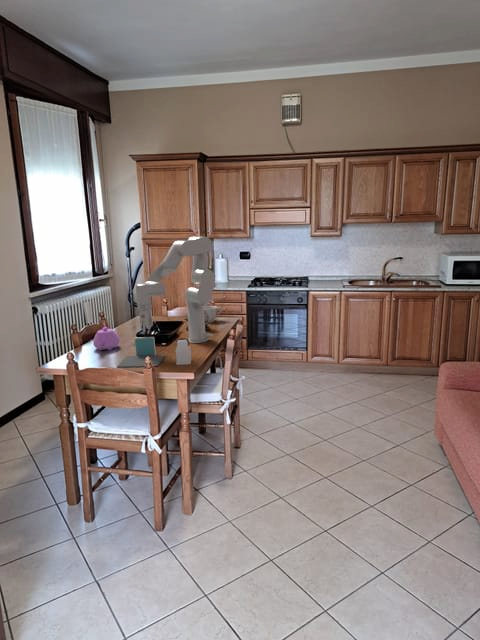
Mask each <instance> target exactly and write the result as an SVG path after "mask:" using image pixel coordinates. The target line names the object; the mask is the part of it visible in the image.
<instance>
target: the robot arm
mask: <svg viewBox="0 0 480 640" xmlns="http://www.w3.org/2000/svg"><path fill="white" fill-rule="evenodd" d="M211 248H212V240H211V239H210V238H209V237H207V236H201V235H200V236H197V235H193V236H190V237H188V239H187V240H176V241H174V242H173V244H172V245H171V246H170V248H169V249H168V251H167V254H166V255H165V257H164V258H163V260H162V261H161V262H160V264H159V265H157V266H156V268H154V269H153V270H152V271H151V273H150V274H149V275H148V277H147V279H146V281H145V282H144V283H137V284H136V285H135V296H136V306H137V311H138V312H139V315H138V316H139V326H140V329H141V330H142V332H143V337H151V328H152V327H153V326H154V320H153V311H152V310H153V305H152V297H162V296H164V295H165V294H166V292H167V286H166V285H165V283H163V282H162V280H163V279H164V278H165V277H166V276H169V275H171V274H173V273H174V272H175V271H177V269H178V268H179V265H180V264H181V262H182V261H183V258H184V257H185V258H186V257H187V258H188V257H192V259H193V261H192V266H191V267H192V268H191V273H190V281H191V283H192V284H194V285H198V286H191V287H188V288H187V289H185V290H186V291H185V292H184V299H185V304H186V310H187V312H188V322H187V324H188V325H187V327H188V328H189V331H188V337H187V338H186V339H188V340H189V343H190V344H200V343H205V342H208V341H209V338H214V334H212V333H207V332H206V331H205V321H204V308H203V306H208V305H209V304H210V303H211V301H212V297H213V292H214V287H215V282H216V275H215V273H214V272H213V271H212V270H211V269H208V267H209V256H208V253H207V252H208V251H210V250H211Z"/></svg>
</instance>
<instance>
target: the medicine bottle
mask: <svg viewBox="0 0 480 640" xmlns="http://www.w3.org/2000/svg"><path fill="white" fill-rule="evenodd" d="M175 364H176V365H175V366H182V365H184V366H185V365H191V364H192V353H191V346H190V344H189V340H188V339H187V338H178V339H176V347H175Z"/></svg>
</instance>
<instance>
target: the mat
mask: <svg viewBox="0 0 480 640" xmlns="http://www.w3.org/2000/svg"><path fill="white" fill-rule="evenodd" d="M147 356H149V357H151V361H152V364H153V365H155V366H157V367H159V365H160V364H161V362H162V361H163V359H164V357H165V354H156V355H140V356H136V355H126V356H125V357H124V358H123V359H122V361H121V362H119V363H118V365H117V366H116V368H120V367H124V368H145V367H144V365H145V358H146V357H147Z"/></svg>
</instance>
